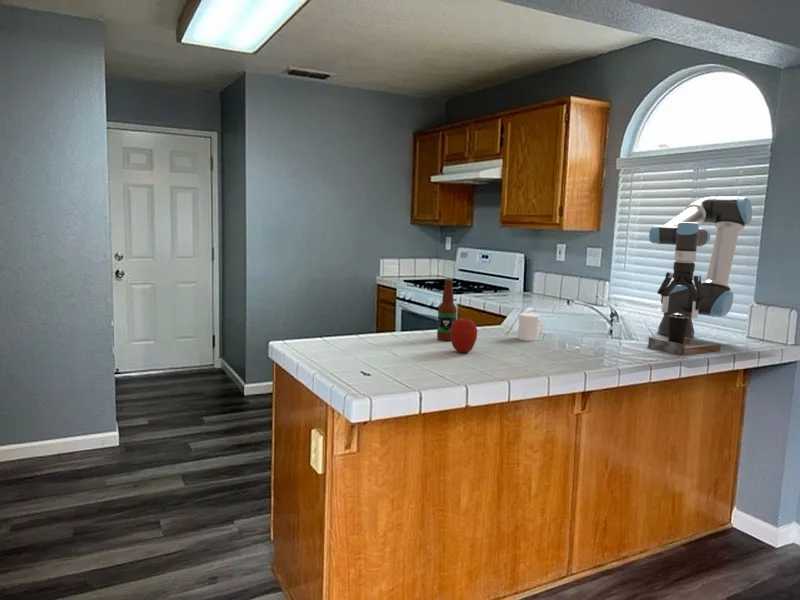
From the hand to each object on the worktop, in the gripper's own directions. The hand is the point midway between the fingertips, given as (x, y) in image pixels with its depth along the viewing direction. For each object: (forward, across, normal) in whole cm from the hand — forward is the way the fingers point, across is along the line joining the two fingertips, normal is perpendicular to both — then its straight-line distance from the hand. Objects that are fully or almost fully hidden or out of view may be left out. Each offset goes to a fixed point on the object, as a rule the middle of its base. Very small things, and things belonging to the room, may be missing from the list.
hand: (679, 315), depth 237 cm
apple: (+14, -26, -85) cm, 90 cm away
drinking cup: (+14, 0, 0) cm, 14 cm away
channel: (+14, 0, +5) cm, 15 cm away
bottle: (+14, -47, -79) cm, 93 cm away
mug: (+14, -37, -43) cm, 59 cm away
